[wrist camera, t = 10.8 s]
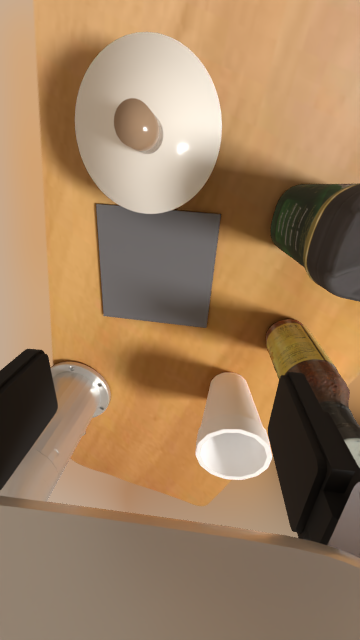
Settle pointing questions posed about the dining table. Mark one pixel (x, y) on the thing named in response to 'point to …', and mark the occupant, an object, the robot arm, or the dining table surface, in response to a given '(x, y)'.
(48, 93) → the dining table surface
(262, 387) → the dining table surface
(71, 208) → the dining table surface
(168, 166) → the lid
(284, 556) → the robot arm
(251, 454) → the foam cup
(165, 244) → the mat
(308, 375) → the sauce bottle
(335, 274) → the coffee jar
